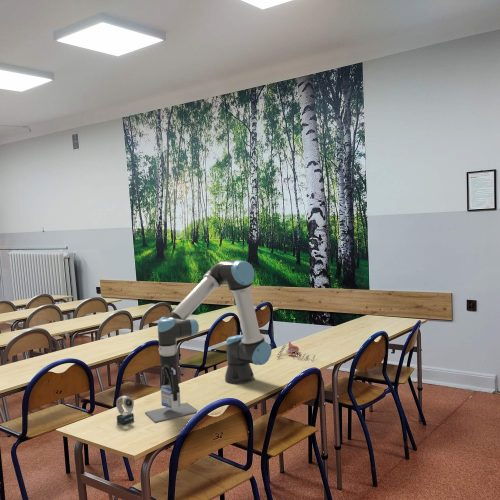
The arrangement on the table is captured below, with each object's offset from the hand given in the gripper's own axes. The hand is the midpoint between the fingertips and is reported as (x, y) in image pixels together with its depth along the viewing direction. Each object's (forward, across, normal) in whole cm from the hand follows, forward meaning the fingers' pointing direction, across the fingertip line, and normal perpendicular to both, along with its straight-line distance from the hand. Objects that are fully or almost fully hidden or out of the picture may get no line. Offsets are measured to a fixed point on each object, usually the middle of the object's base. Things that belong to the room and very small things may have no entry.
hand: (171, 404), depth 232 cm
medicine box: (+1, 0, 0) cm, 1 cm away
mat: (+4, 0, 0) cm, 4 cm away
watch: (+4, -2, -20) cm, 20 cm away
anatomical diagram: (+4, -43, +96) cm, 105 cm away
